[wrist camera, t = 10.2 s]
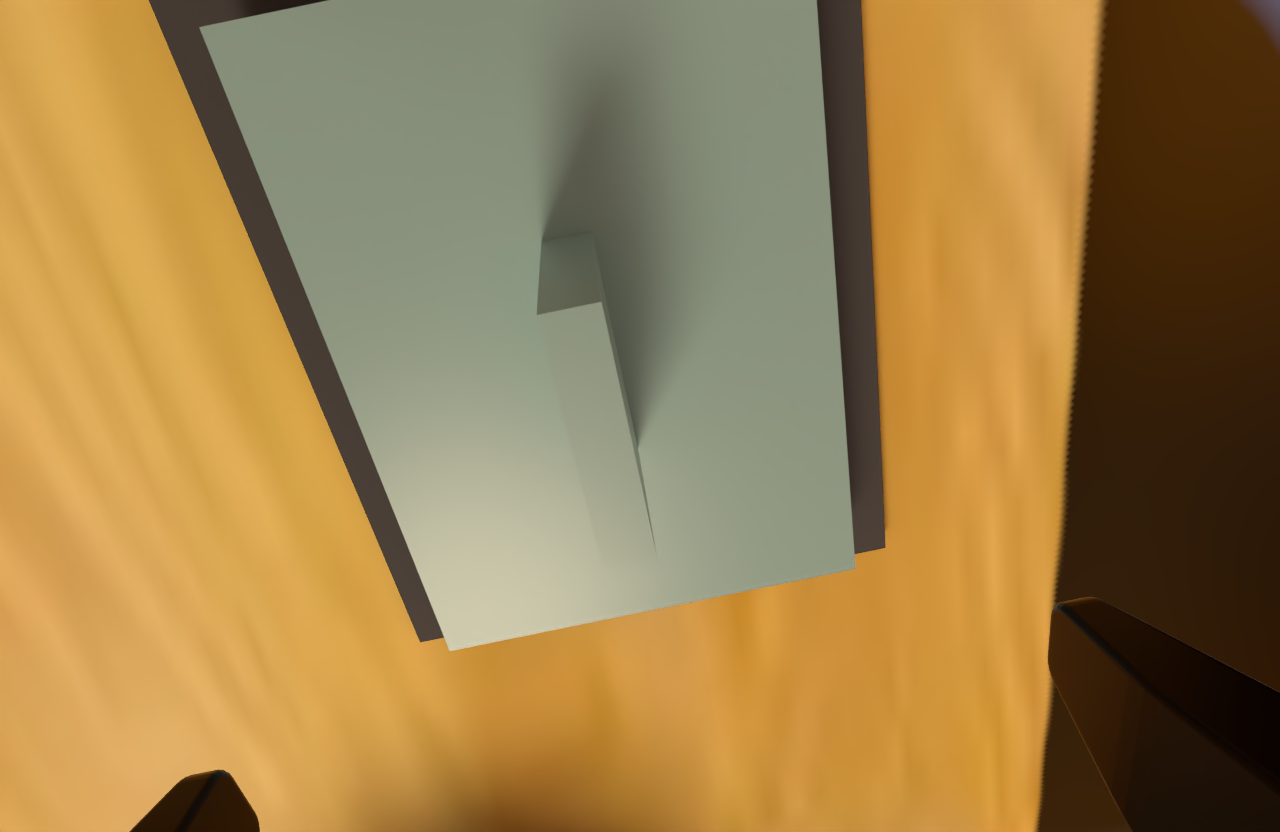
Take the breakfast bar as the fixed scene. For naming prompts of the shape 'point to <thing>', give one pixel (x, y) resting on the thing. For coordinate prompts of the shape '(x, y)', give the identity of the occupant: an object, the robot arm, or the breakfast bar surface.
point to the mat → (180, 13)
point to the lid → (567, 287)
